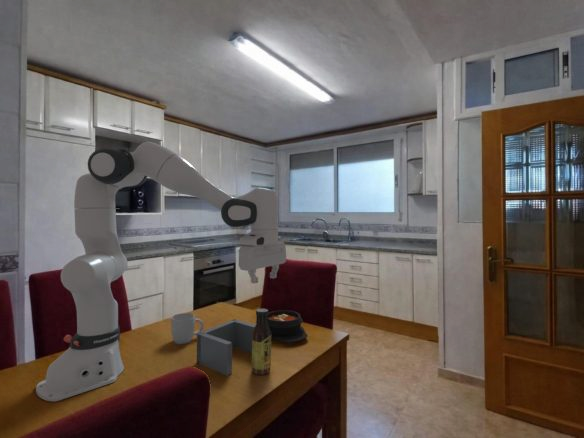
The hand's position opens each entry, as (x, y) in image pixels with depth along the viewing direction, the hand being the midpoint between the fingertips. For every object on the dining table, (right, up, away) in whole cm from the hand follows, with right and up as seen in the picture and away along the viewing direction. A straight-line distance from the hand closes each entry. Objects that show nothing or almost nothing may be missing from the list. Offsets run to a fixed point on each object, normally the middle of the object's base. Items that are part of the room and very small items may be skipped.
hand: (264, 280), depth 101 cm
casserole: (+5, -30, +31) cm, 43 cm away
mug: (-33, -29, +25) cm, 51 cm away
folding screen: (-12, -30, +9) cm, 33 cm away
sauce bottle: (-1, -30, +1) cm, 30 cm away
